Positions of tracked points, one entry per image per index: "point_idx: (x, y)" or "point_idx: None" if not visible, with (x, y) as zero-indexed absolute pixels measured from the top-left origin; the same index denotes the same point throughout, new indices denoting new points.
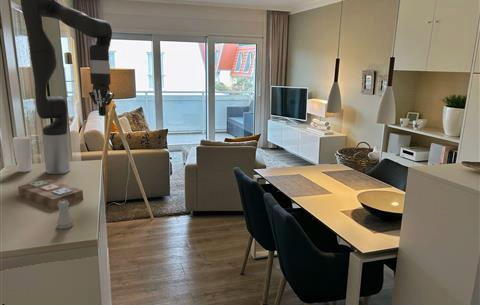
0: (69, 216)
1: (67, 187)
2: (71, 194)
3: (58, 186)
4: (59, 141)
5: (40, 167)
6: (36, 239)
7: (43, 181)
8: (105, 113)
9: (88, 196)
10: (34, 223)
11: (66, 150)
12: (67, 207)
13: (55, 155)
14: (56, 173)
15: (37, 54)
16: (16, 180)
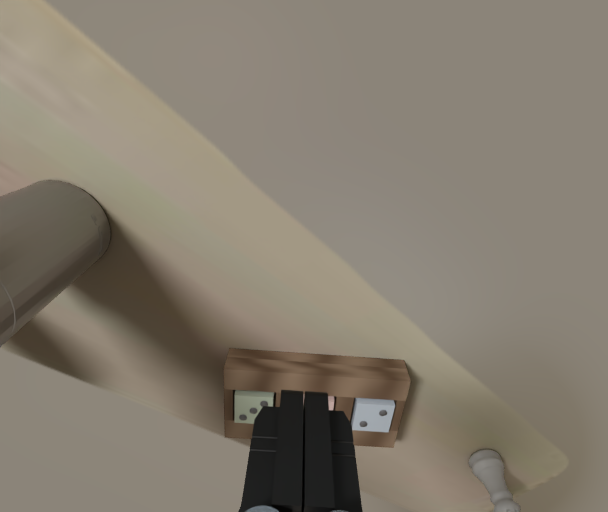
0: (502, 474)
1: (350, 386)
2: (402, 406)
3: (330, 402)
4: (12, 321)
5: None
6: (474, 498)
7: (249, 397)
8: (350, 430)
9: (399, 339)
10: (414, 472)
11: (41, 253)
12: (512, 499)
13: (56, 295)
14: (101, 255)
15: None
16: (80, 354)
